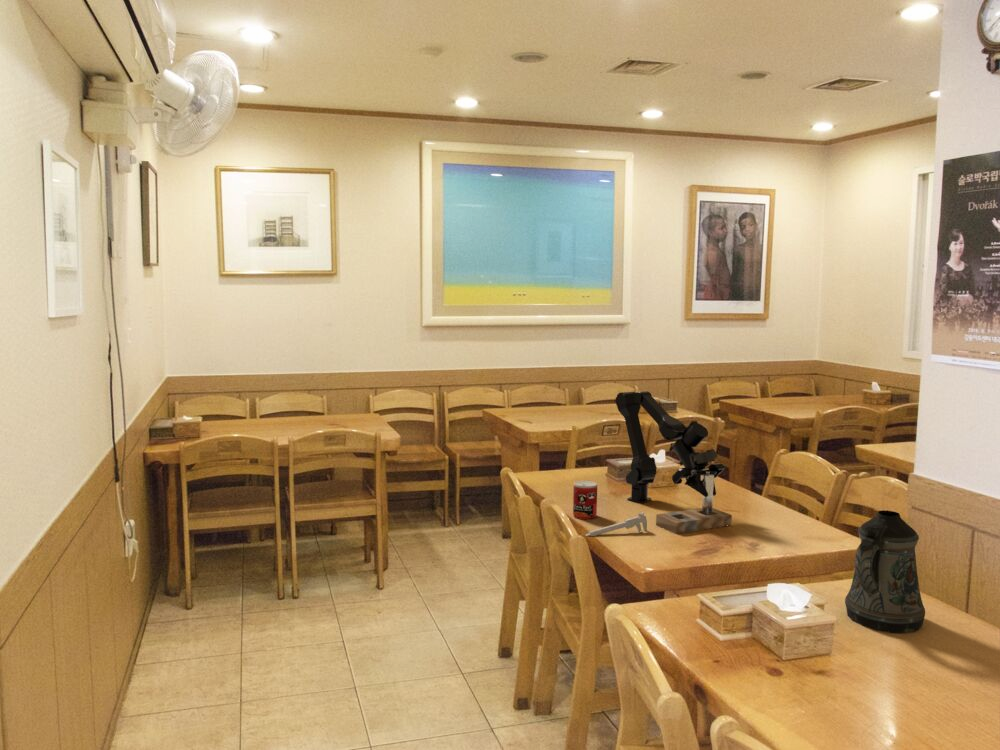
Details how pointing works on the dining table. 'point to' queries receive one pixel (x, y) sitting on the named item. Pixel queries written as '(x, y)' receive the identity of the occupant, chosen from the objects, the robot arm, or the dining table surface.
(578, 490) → the canned food
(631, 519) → the caliper
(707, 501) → the drill rod
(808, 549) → the dining table surface
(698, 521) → the tool block
